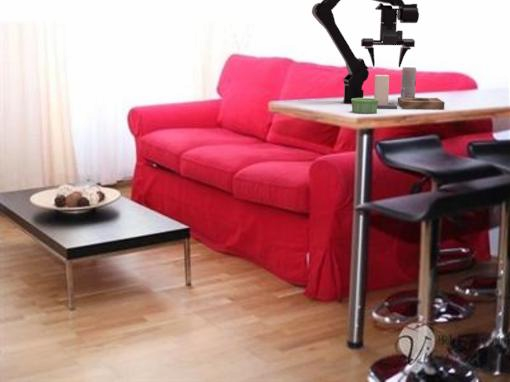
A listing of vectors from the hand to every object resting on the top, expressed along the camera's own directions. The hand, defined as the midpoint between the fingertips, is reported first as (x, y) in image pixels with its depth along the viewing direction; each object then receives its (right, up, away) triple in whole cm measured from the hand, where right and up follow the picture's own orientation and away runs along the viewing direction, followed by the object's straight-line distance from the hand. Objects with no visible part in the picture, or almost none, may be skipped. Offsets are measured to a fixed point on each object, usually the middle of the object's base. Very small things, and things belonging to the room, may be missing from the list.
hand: (386, 66), depth 278 cm
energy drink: (+11, -10, +14) cm, 21 cm away
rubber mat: (-4, -16, -10) cm, 19 cm away
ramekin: (-12, -19, -25) cm, 33 cm away
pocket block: (+10, -16, -9) cm, 21 cm away
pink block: (-4, -15, -11) cm, 19 cm away
